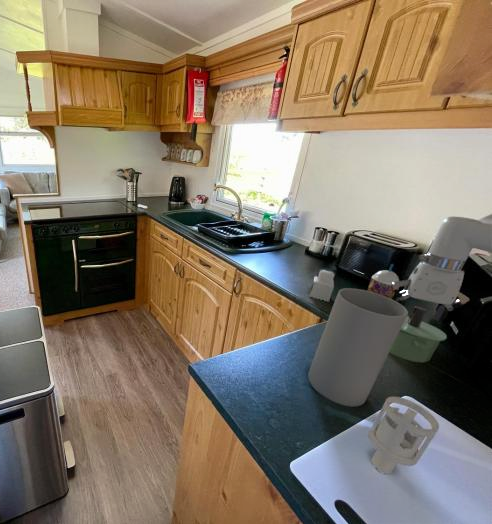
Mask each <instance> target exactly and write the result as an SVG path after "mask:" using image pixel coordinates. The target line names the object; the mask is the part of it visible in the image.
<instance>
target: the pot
mask: <svg viewBox="0 0 492 524" xmlns="http://www.w3.org/2000/svg"><path fill="white" fill-rule="evenodd" d="M440 342H441V341H436V340H430V339H425V338H421V337H418V336H415V335H412V334H409V333H407V332H404V331H402V330H400V331H399V333H398V335H397V337H396V339H395V341H394V343H393V345H392V347H391V349H390V352H389V354H391V355H393V356H395V357H399V358H401V359H404V360H407V361H410V362H414V363H427V362H430V360H431V359H432V357H433V355H434V353H435V351H436V349H437V348H438V347H439V344H440Z"/></svg>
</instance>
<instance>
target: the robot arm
mask: <svg viewBox="0 0 492 524" xmlns="http://www.w3.org/2000/svg"><path fill="white" fill-rule="evenodd" d="M473 249H475V250H476V249H477V250H479V251H483V252H487V253H491V254H492V213H490V214H488V215H486V216H483V217H481V218H479V219H474V218H469V217H464V216H454V215H453V216H448V217H446V218H444V219H443V220H442V223H441V224H440V226H439V228H438V230H437V233H436V235H435V236H434V239H433V241H432V243H431V245H430V248H429V249H428V251H426V254H425V253H424V254H422V253H421V254H419V257H418V258H419V260H423V261H420V262H419V263H418V264H417V265H416V266H415V268H414V269H413V271H412V272H411V274H410V275H409V277H408V279H404V280H399V281H397V282H392V283H391V284H392V289H393V292H394V293H395V294H394V295H395V296H396V299H395V301H396V302H398V303H399V304H401V305H402V306H404V307H405V304H406V301H405V300H407V299H409V298H413V299H416V300H422V301H425V302H430V303H436V304H441V305H439V306H438V308H437V310H436V311H435V313H434V315H433V318H434V319H435V320H436V321H437V322H439V323H442V322H443V321H444V320H445V319H446V318H447V317H448V314H449V313H450V312H451V311H452V312H453V311H454V310H455V309H457V308H461V307H462V306H463V305H465V304H466V303H467V302H469V301H470V298H469V297H468V296H466V295H465V294H463V293H462V292H460V290H461V287H462V285H463V284H462V283H463V282H464V281H463V280H464V275H465V270H462V269H463V267H464V265H465V263H466V262H467V260H468V258H469V255H470V254H471V252H472V250H473ZM401 287H404V288H403V290H401V291H400V289H399V288H401Z"/></svg>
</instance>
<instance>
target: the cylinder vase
mask: <svg viewBox="0 0 492 524" xmlns="http://www.w3.org/2000/svg"><path fill="white" fill-rule="evenodd" d="M408 315H409V311H408V310H407V308H406V307H405V305H404V306H402V305H401V304H399V303H398V302H396V300H394V299H393V298H392V299H390V298H387V297H385V296H382V295H380V294H377V293H373V292H370V291H367V290H365V289H361V288H360V289H359V288H351V287H349V288H347V287H346V288H341V289H339V290H338V292H337V295H336V297H335V299H334V303H333V305H332V308H331V311H330V314H329V317H328V319H327V321H326V325H325V327H324V330H323V332H322V335H321V337H320V341H319V343H318V346H317V348H316V352H315V354H314V357H313V359H312V361H311V365H310V367H309V370H308V374H307V378H308V381H309V383H310V385H311V387H312V388H313V389H314V390H315V391H316V392H317V393H318V394H320V395H321V396H322V397H325V398H326V399H328V400H329V401H331V402H332V403H333V402H334V403H336V404H338V405H342V406H345V407H353V408H354V407H355V408H356V407H360V406H362V405H364V404H365V403H366V401H367V399H368V396H369V395H370V393H371V391H372V388H373V387H374V384H375V383H376V381H377V378H378V376H379V374H380V372H381V370H382V368H383V366H384V365H385V362H386V360H387V358H388V355H389V354H390V349H391V347H392V345H393V343H394V341H395V339H396V337H397V335H398V333H399V331H400V329H401V327H402V325H403V323H404V321H405V319H406V317H407V316H408Z"/></svg>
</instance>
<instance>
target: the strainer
mask: <svg viewBox="0 0 492 524" xmlns="http://www.w3.org/2000/svg"><path fill="white" fill-rule="evenodd" d="M390 404H397V405H401V406H404V407H407V409H406V411H405V412H404V413H402V412H400V411H399V410H400V408H399V407H392V406H391V405H390ZM417 414H420V415H421V416H422V417H423V418H424V419H425V420H426V421H427V422H428V423H429V425H430V426H431V428H424V427H423V426H422V425H421V424H420V423H418V422H417V421H416V420H414V419H415V417H416V416H417ZM439 430H440V423H439V421H438V420H437V419H436V418H435V416H434V415H433V414H432V413H431V412H429V411H428V410H427V409H426V408H424V407H422V406H421V405H420V404H418V403H416V402H413V401H412V400H410V399H407V398H404V397H400V396H389V397H387V398H386V399H385V401H384V402H383V405H382V406H381V408H380V411H379V413H378V414H377V416H376V418H375V420H374V422H373V424H372V426H371V428H370V430H369V432H368V438H369V440H370V443H371V444H372V445H373V446H374V448H375V449H376V450H375V452H374V454H373V456H371V459H370V462H371V461H372V463H373V465H374V466H375V467H376V468H377V469H378V470H380V471H381V472H383V473H387V474H388V475H390V474H391V473H392V472H393V470H394V469H395V467H396V464H399V465H401V466H406V467H413V466H416V464H417V463H418V462H419V460H420V459H421V457H422V456H423V454H424V453H425V451H426V449H427V448H428V446H429V445H430V444H431V442H432V440H433V439H434V438H435V436H436V434H437V433H438V431H439ZM425 438H426V439H425ZM424 439H425V440H424ZM372 463H371V464H372ZM373 465H372V466H373ZM374 466H373V467H374ZM377 469H376V470H377ZM378 470H377V471H378ZM381 472H380V473H381ZM383 473H382V474H383ZM389 473H390V474H389ZM387 474H386V475H387Z"/></svg>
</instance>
